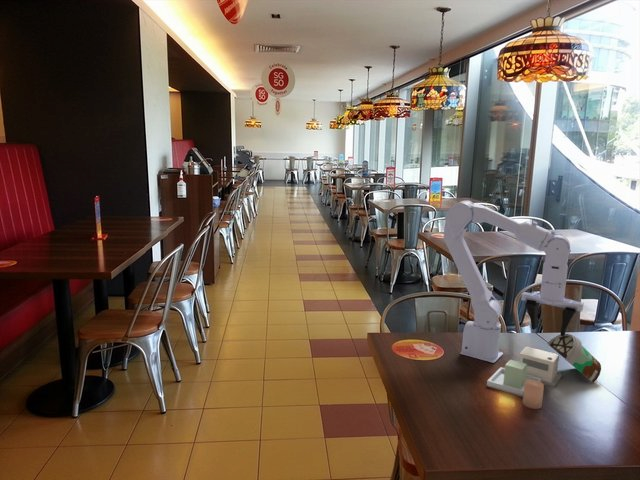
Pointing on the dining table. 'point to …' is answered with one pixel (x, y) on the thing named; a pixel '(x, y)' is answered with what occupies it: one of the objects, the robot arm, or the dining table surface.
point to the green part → (515, 374)
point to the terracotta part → (533, 394)
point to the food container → (576, 355)
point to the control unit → (541, 365)
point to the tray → (497, 383)
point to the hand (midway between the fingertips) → (548, 331)
